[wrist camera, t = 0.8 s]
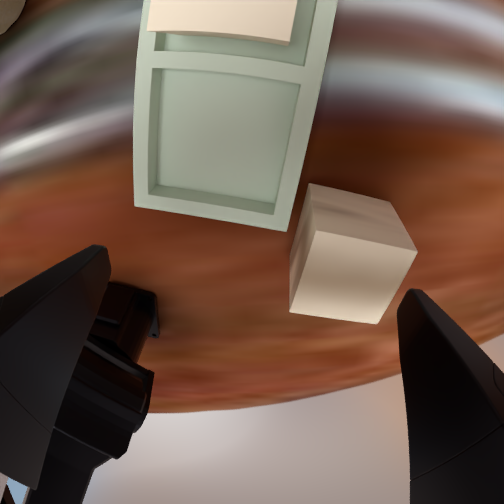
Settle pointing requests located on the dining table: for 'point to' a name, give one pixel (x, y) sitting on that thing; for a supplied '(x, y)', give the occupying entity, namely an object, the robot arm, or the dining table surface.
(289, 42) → the tray
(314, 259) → the maple cube
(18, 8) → the flower pot
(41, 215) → the dining table surface
